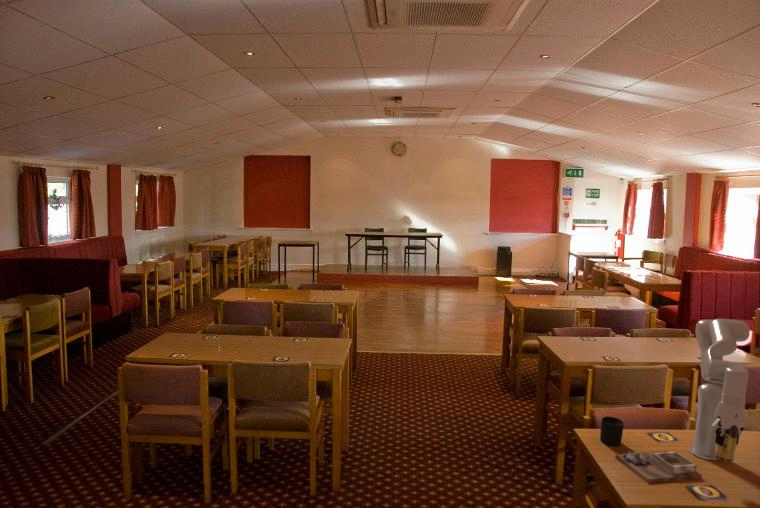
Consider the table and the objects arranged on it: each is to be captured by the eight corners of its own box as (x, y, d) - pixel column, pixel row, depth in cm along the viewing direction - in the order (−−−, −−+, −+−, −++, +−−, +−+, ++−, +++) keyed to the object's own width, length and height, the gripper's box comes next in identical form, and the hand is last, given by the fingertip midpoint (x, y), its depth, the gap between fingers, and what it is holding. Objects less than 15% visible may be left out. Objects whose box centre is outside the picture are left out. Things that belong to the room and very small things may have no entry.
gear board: (665, 454, 242) (666, 444, 242) (701, 478, 223) (702, 467, 222) (615, 457, 236) (616, 447, 236) (647, 482, 217) (648, 471, 217)
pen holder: (626, 445, 249) (628, 424, 248) (609, 447, 246) (611, 426, 244) (611, 436, 258) (613, 415, 256) (594, 438, 255) (596, 417, 253)
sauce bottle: (710, 455, 219) (717, 407, 216) (725, 455, 219) (732, 407, 216) (722, 463, 212) (729, 414, 209) (737, 463, 213) (745, 414, 210)
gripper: (743, 394, 218) (736, 437, 220) (705, 396, 214) (699, 440, 217) (759, 402, 211) (753, 446, 213) (721, 404, 207) (715, 450, 209)
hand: (726, 443), depth 215 cm, fingers closed on sauce bottle, 6 cm apart
